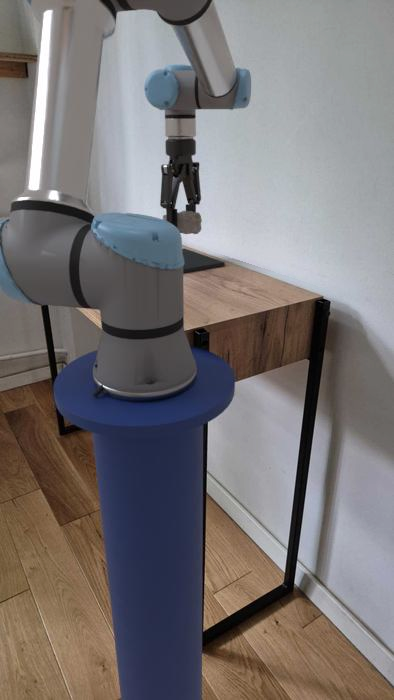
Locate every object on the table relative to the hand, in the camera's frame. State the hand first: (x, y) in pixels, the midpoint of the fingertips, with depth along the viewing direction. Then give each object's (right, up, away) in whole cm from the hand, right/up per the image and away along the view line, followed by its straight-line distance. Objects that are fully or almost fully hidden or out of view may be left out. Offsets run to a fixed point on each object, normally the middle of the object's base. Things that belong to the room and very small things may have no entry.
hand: (181, 231), depth 128 cm
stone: (0, 0, 0) cm, 1 cm away
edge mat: (0, -7, +3) cm, 8 cm away
